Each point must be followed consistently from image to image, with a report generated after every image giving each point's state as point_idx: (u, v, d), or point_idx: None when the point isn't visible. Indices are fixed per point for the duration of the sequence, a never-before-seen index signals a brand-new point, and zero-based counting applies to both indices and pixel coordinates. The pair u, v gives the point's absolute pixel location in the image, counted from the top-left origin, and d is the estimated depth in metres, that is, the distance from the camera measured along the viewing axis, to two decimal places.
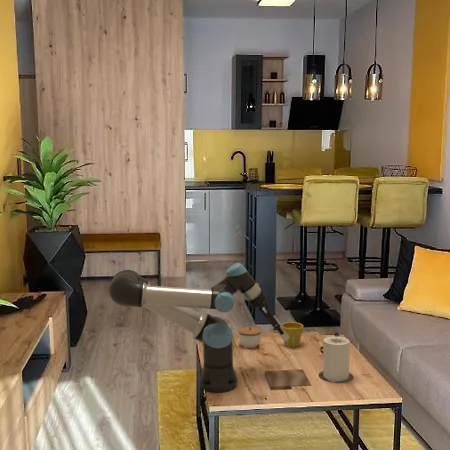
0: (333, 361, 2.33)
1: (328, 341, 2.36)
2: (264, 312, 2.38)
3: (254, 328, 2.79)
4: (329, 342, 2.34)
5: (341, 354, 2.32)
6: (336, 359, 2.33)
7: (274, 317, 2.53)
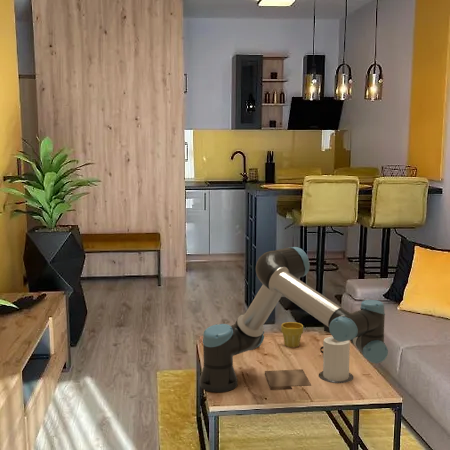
0: (333, 361, 2.33)
1: (328, 341, 2.36)
2: None
3: None
4: (329, 342, 2.34)
5: (341, 354, 2.32)
6: (336, 359, 2.33)
7: None
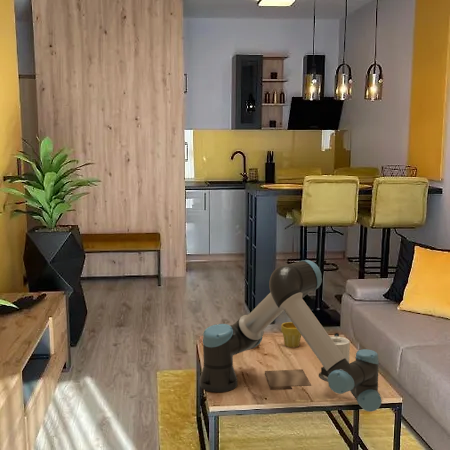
0: None
1: None
2: None
3: None
4: None
5: None
6: None
7: None
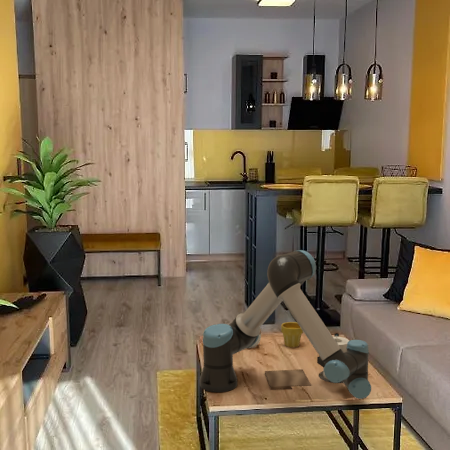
0: None
1: None
2: None
3: None
4: None
5: None
6: None
7: None
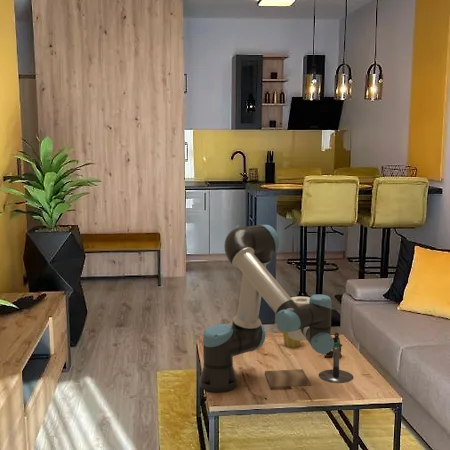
0: None
1: (293, 300, 2.31)
2: None
3: None
4: (294, 301, 2.30)
5: None
6: None
7: None
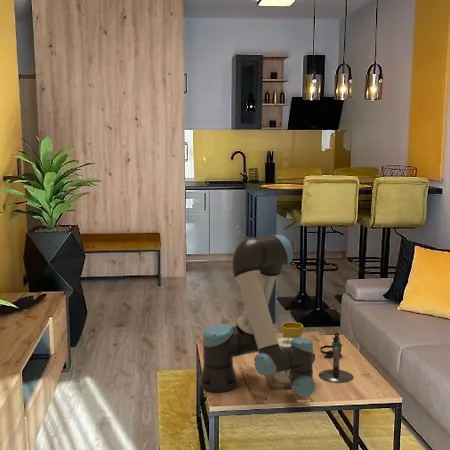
0: None
1: (279, 343, 2.34)
2: None
3: None
4: (280, 344, 2.33)
5: None
6: None
7: None
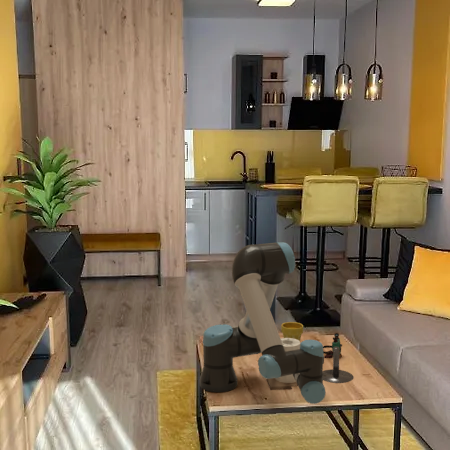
0: None
1: None
2: None
3: None
4: None
5: None
6: None
7: None
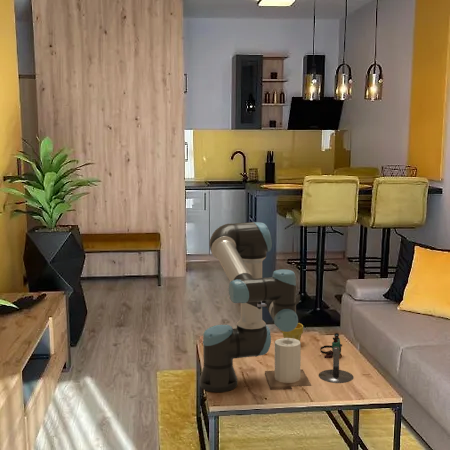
0: (283, 363, 2.31)
1: (279, 343, 2.34)
2: (257, 303, 2.10)
3: None
4: (280, 344, 2.33)
5: (291, 356, 2.31)
6: (286, 361, 2.31)
7: None
